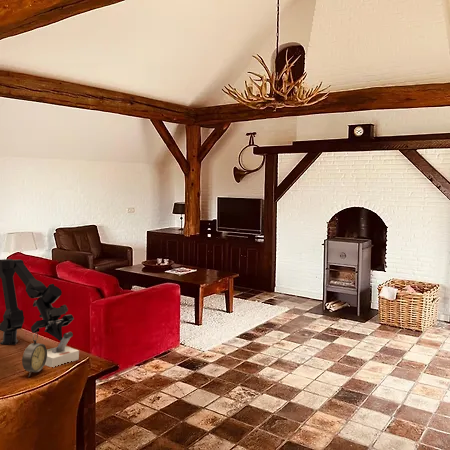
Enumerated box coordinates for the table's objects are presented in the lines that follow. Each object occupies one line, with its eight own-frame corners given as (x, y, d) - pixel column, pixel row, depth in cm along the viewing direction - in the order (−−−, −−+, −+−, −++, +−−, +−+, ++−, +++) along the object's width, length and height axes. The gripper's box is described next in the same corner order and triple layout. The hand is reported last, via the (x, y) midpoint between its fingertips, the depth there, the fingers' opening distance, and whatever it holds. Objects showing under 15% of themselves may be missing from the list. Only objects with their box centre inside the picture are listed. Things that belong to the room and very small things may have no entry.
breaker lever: (54, 349, 202) (64, 332, 199) (60, 348, 205) (70, 330, 201) (57, 353, 201) (67, 335, 198) (63, 351, 204) (73, 334, 201)
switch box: (36, 361, 200) (37, 348, 199) (62, 354, 212) (63, 341, 211) (52, 367, 195) (53, 354, 194) (78, 359, 207) (79, 346, 206)
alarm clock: (30, 379, 181) (33, 337, 180) (18, 377, 182) (21, 335, 182) (46, 369, 192) (49, 330, 191) (34, 367, 193) (37, 328, 192)
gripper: (37, 302, 196) (53, 334, 191) (72, 296, 212) (88, 326, 207) (23, 316, 200) (38, 348, 195) (59, 310, 216) (74, 339, 211)
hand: (61, 340), depth 202 cm, fingers closed
